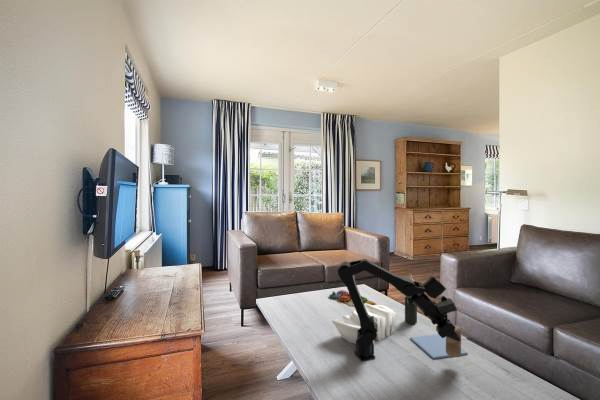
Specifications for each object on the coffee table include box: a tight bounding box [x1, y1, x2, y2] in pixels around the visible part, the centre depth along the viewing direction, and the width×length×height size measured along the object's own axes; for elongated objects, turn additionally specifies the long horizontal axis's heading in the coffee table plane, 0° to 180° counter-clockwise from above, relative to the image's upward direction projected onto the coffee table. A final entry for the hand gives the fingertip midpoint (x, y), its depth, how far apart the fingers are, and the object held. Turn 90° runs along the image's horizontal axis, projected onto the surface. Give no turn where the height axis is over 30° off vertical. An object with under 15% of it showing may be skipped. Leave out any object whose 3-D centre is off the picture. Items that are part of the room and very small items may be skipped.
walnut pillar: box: [446, 324, 462, 358], centre depth 108 cm, size 5×5×10 cm
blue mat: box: [410, 333, 469, 360], centre depth 122 cm, size 16×16×1 cm
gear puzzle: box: [327, 289, 378, 308], centre depth 174 cm, size 31×16×4 cm, turn 43°
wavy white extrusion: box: [331, 303, 398, 345], centre depth 134 cm, size 35×16×11 cm, turn 125°
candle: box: [404, 273, 418, 326], centre depth 145 cm, size 5×5×25 cm
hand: (457, 336), depth 107 cm, fingers closed on walnut pillar, 5 cm apart
